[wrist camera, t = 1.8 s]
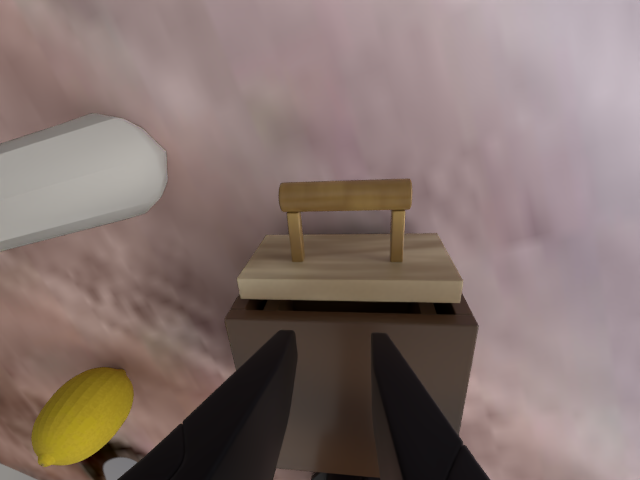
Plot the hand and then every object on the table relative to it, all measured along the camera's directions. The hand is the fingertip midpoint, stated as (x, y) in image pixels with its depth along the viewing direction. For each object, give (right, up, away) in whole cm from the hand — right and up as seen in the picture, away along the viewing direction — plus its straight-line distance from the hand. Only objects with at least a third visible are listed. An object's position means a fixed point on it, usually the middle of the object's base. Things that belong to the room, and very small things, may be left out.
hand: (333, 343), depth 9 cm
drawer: (+2, 0, +12) cm, 12 cm away
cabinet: (+2, -3, +15) cm, 15 cm away
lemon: (-18, -9, +20) cm, 28 cm away
